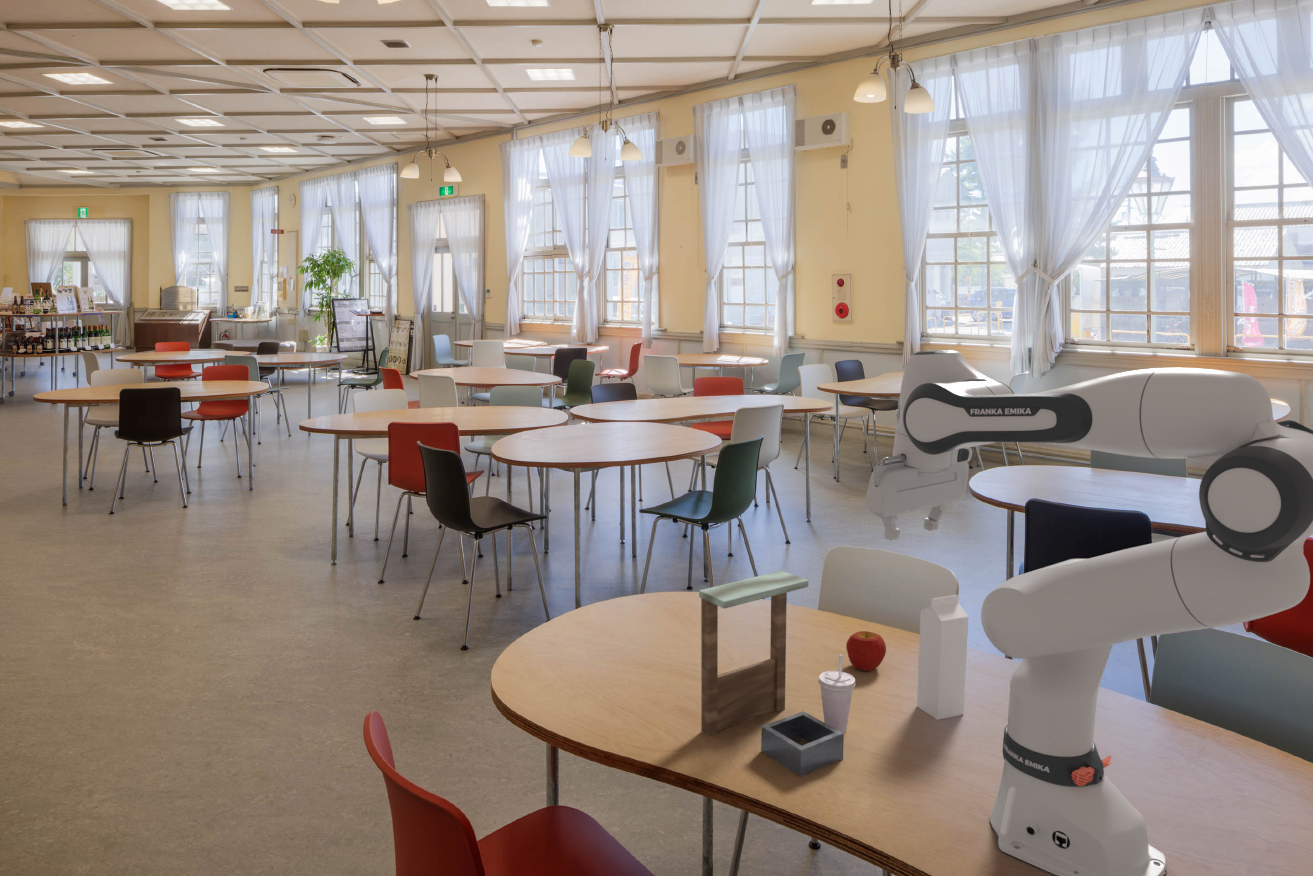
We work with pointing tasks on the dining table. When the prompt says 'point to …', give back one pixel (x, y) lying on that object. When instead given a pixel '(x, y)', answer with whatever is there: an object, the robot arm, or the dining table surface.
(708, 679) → the green-topped frame
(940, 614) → the milk
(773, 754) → the socket
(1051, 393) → the robot arm
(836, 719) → the smoothie
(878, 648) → the apple
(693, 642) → the dining table surface
